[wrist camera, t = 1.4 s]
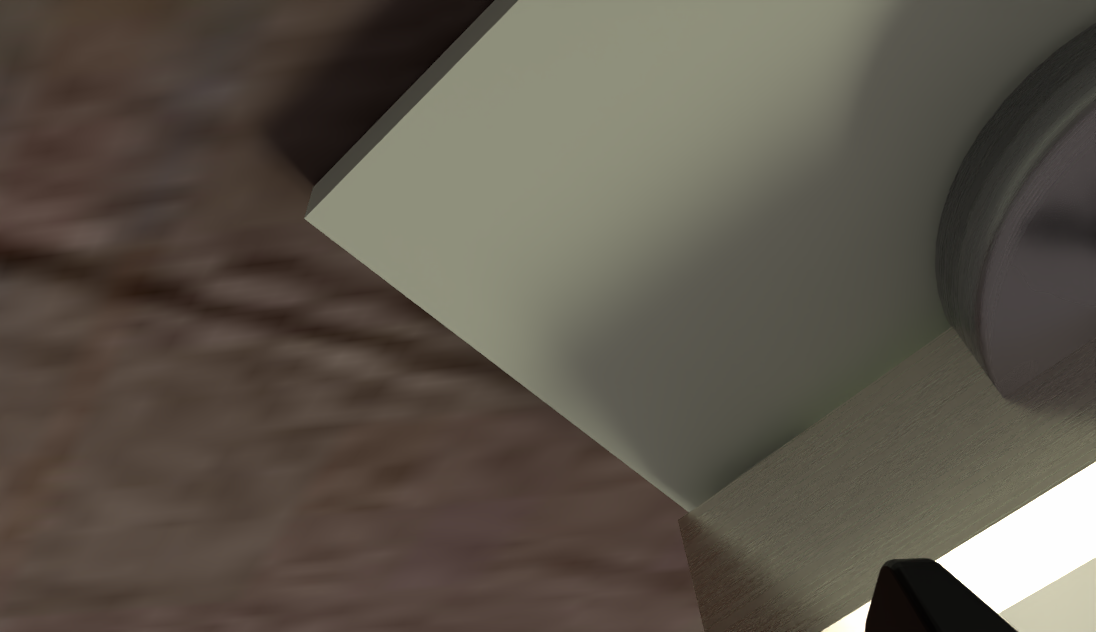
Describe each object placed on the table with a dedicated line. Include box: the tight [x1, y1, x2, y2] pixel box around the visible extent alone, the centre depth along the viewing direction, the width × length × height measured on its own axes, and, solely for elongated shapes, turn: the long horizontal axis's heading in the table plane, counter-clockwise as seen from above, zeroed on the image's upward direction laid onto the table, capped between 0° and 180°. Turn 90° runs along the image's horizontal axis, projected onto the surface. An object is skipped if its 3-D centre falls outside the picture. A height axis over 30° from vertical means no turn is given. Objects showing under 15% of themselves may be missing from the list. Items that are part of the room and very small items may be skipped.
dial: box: [678, 23, 1096, 632], centre depth 14 cm, size 12×7×4 cm, turn 134°
